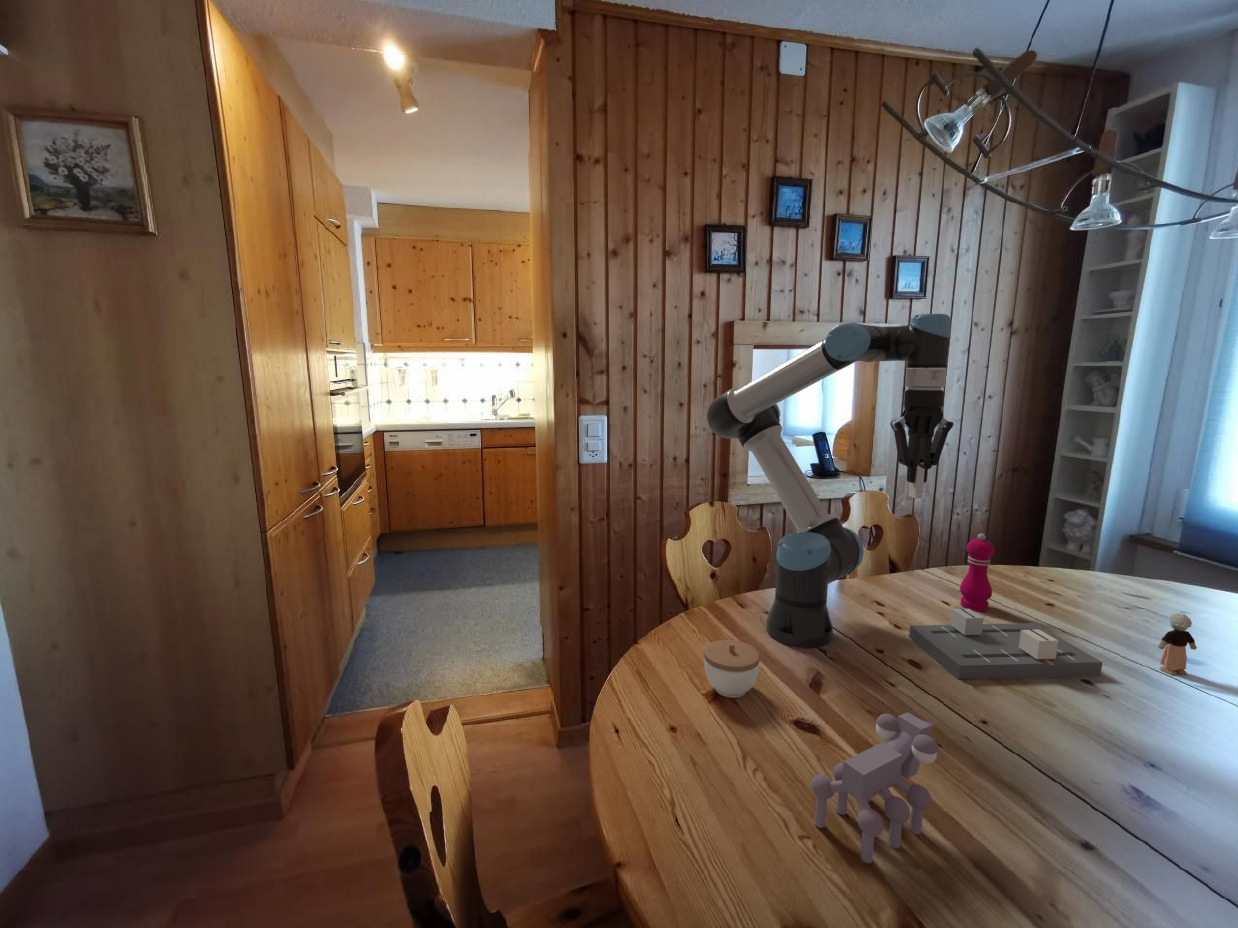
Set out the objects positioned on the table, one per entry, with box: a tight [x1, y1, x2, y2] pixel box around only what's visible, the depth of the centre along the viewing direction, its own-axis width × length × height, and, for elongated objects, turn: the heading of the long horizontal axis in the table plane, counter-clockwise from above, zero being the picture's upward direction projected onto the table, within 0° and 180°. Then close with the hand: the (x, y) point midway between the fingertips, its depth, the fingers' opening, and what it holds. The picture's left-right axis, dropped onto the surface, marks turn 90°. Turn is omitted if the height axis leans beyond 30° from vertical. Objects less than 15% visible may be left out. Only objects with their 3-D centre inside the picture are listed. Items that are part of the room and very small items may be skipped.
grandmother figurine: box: [1157, 612, 1198, 676], centre depth 115 cm, size 8×4×13 cm, turn 104°
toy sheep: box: [811, 712, 938, 864], centre depth 77 cm, size 20×11×14 cm, turn 119°
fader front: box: [1019, 630, 1058, 659], centre depth 117 cm, size 4×5×4 cm
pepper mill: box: [959, 533, 995, 612], centre depth 147 cm, size 7×7×20 cm
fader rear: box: [950, 608, 984, 635], centre depth 127 cm, size 4×5×4 cm
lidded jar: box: [703, 639, 761, 699], centre depth 109 cm, size 11×11×9 cm
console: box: [908, 622, 1103, 680], centre depth 123 cm, size 30×18×3 cm, turn 92°
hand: (915, 496), depth 123 cm, fingers closed
